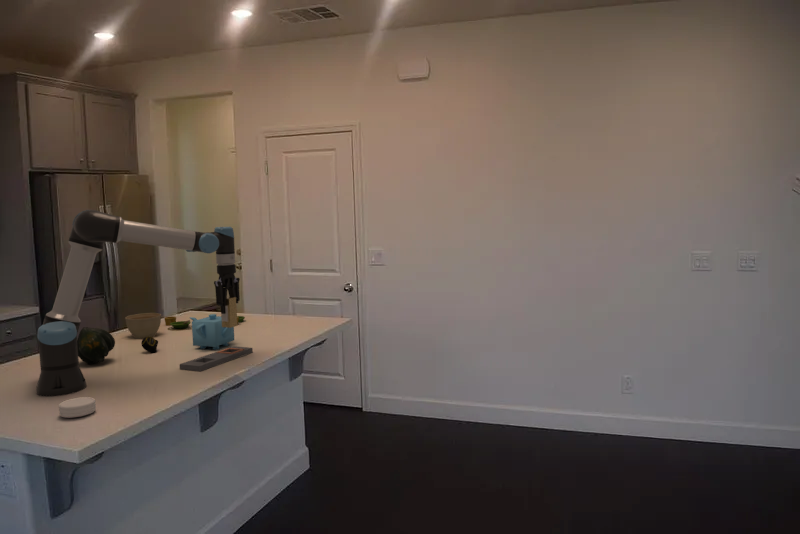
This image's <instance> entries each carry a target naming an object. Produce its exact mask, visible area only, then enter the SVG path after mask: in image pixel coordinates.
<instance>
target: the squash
mask: <svg viewBox="0 0 800 534" xmlns="http://www.w3.org/2000/svg"><path fill="white" fill-rule="evenodd" d="M115 344H116V340H115V338H114V336H113V335H112V334H111V333H110V332H109V331H107V330H105V329H103V328H97V327H96V328H95V327H88V326H87V327H86V326H84V327H82V328H81V330H80V331H79V333H78V336H77V346H78V359H79V360H81V361H82V362H83V363H86V364H89V365H92V364H96V363H101V362H103V361H104V360H105V358H107V357H108V355H109V353H110V352H111V351H112V350H113V349H114V348H115V346H116V345H115Z"/></svg>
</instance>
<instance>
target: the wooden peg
mask: <svg viewBox="0 0 800 534" xmlns="http://www.w3.org/2000/svg"><path fill="white" fill-rule="evenodd" d="M226 306H228V322H226V321H222V327H228V328H231V327H234V328H235V327H237V326H238V325H237V316H238V311H237V303H236V297H229V296H227V300H226ZM220 315H221V318H222V314H221V313H220Z"/></svg>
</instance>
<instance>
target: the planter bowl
mask: <svg viewBox="0 0 800 534" xmlns="http://www.w3.org/2000/svg"><path fill="white" fill-rule="evenodd" d="M161 318H162V314H161V313H157V312H145V313H137V314H130V315H127V316H125V318H124V320H125V324H126V327H127V329H128V332H130V334H131V335H132V336H133V338H134V339H142V340H143V339H144V338H145V337H148V336H149V337H152V338H154V337H155V336H156V334H157V332H158V331H159V329H160V327H161V321H162V320H161Z"/></svg>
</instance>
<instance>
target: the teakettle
mask: <svg viewBox="0 0 800 534" xmlns="http://www.w3.org/2000/svg"><path fill="white" fill-rule="evenodd" d="M189 320H192V321H191V326H192V327H191V330H192V331H191V334H192V346H194V347H195V346H196V347H199V349H200V350H201V349H202V350H203V349H207V347H211V348H212V350H213V351H214V350H215V351H216V350H218V351H219V350H220V346H222V347H228V346H230V344H229V343H231V342H233V341H235V327H231V328H228V327H222V318H221V316H220V315H219V316H218V315H217V314H216V313H213V314H212V313H211V314H208V316H207V317H203V318H199V319H197V317H189Z"/></svg>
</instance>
